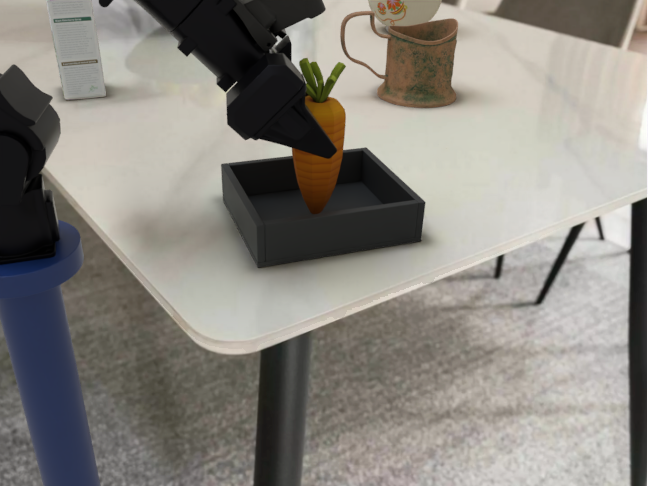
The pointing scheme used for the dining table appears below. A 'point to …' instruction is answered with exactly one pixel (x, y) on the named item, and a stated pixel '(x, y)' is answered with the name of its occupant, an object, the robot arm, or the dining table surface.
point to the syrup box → (76, 48)
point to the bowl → (404, 11)
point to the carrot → (314, 170)
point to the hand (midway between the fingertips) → (325, 134)
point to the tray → (335, 219)
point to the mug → (415, 62)
